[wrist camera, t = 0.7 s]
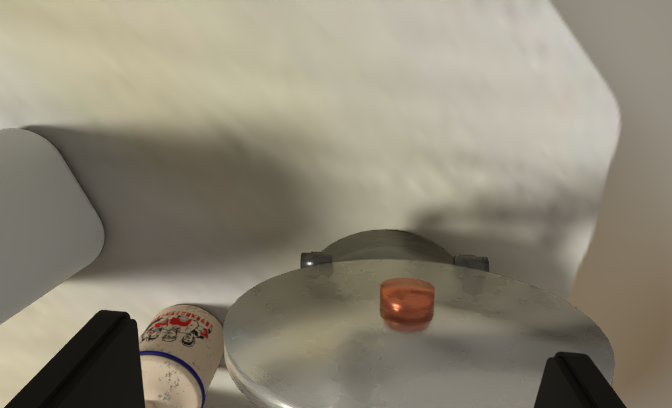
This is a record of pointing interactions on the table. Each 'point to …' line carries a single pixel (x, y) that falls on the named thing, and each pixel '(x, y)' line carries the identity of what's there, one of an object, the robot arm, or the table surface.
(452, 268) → the lid
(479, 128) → the table surface
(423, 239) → the pot
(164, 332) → the teacup with lid
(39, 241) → the plastic bottle
